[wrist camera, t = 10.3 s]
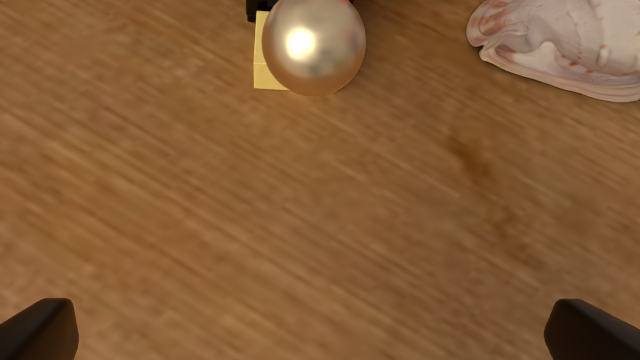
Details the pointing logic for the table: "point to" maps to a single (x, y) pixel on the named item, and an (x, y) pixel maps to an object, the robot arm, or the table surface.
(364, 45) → the ball-tipped lever
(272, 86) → the butter
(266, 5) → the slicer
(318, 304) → the table surface
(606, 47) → the seashell
